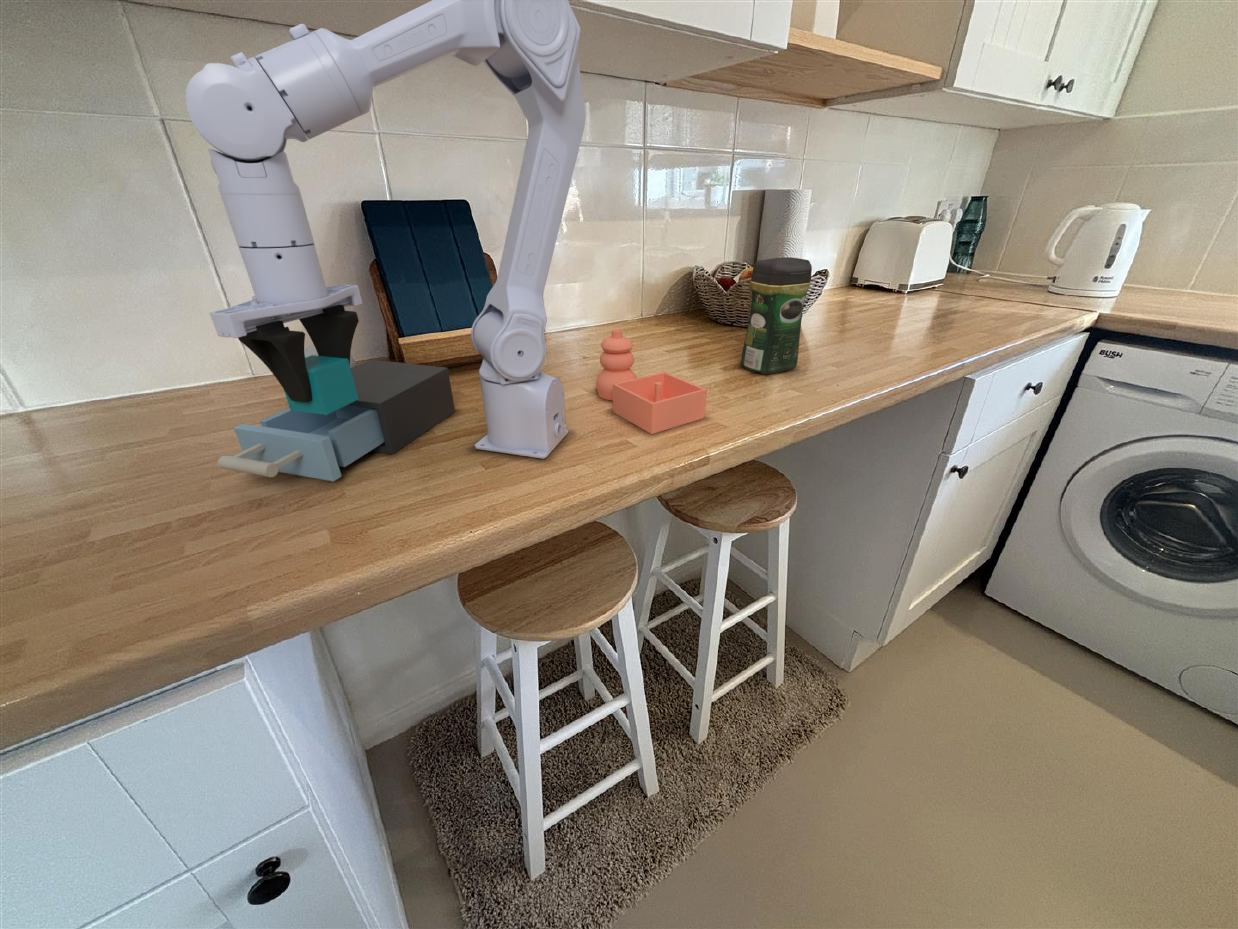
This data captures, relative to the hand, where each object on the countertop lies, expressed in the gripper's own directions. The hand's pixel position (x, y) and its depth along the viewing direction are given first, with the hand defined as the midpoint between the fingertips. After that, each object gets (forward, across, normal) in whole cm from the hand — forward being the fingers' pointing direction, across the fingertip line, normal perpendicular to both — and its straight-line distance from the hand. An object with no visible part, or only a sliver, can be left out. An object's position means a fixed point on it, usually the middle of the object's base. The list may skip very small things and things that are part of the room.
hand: (321, 391), depth 50 cm
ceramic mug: (+10, -20, -19) cm, 29 cm away
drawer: (+9, -2, -5) cm, 10 cm away
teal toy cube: (+1, 0, 0) cm, 1 cm away
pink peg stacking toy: (+10, -29, +26) cm, 41 cm away
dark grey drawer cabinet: (+10, -13, -5) cm, 17 cm away
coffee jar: (+10, -53, +44) cm, 70 cm away
